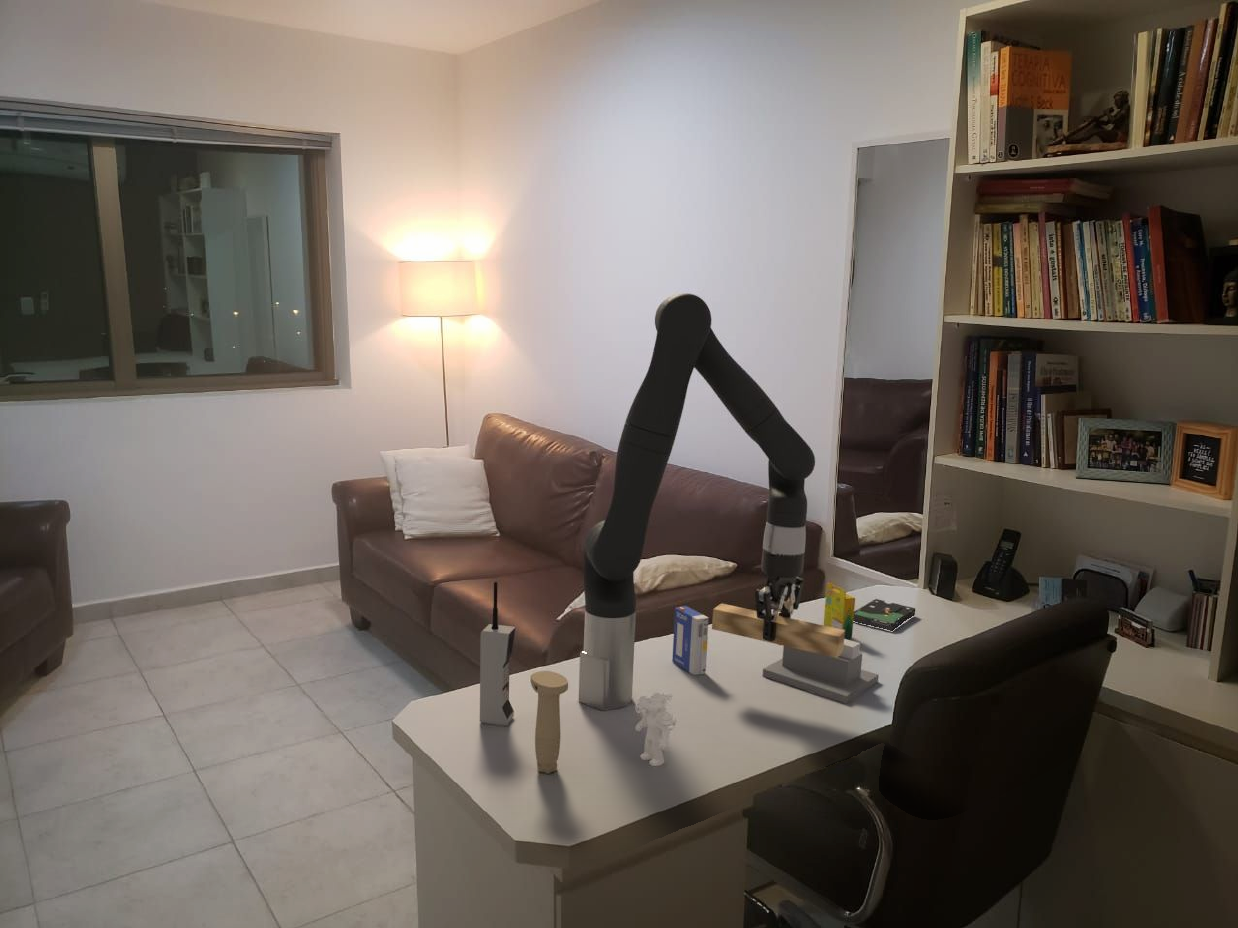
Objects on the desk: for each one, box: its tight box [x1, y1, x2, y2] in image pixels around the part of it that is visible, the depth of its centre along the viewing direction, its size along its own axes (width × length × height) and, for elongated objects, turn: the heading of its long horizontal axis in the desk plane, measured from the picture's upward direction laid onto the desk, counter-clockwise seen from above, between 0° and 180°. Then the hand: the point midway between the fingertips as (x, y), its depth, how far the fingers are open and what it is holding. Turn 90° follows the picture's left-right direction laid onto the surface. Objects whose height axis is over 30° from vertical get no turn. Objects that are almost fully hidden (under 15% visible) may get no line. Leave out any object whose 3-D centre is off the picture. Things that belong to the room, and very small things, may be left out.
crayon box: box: [823, 581, 856, 641], centre depth 207 cm, size 7×3×12 cm, turn 22°
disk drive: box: [853, 598, 916, 632], centre depth 220 cm, size 10×3×15 cm
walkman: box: [672, 605, 709, 676], centre depth 185 cm, size 8×3×12 cm, turn 31°
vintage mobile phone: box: [479, 581, 516, 727], centre depth 158 cm, size 4×5×25 cm
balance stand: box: [762, 639, 879, 704], centre depth 183 cm, size 14×18×9 cm
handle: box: [530, 670, 569, 774], centre depth 143 cm, size 5×6×15 cm
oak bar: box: [711, 603, 845, 658], centre depth 171 cm, size 24×4×4 cm, turn 62°
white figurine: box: [634, 692, 677, 767], centre depth 148 cm, size 9×4×12 cm, turn 33°
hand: (775, 636), depth 171 cm, fingers closed on oak bar, 4 cm apart
